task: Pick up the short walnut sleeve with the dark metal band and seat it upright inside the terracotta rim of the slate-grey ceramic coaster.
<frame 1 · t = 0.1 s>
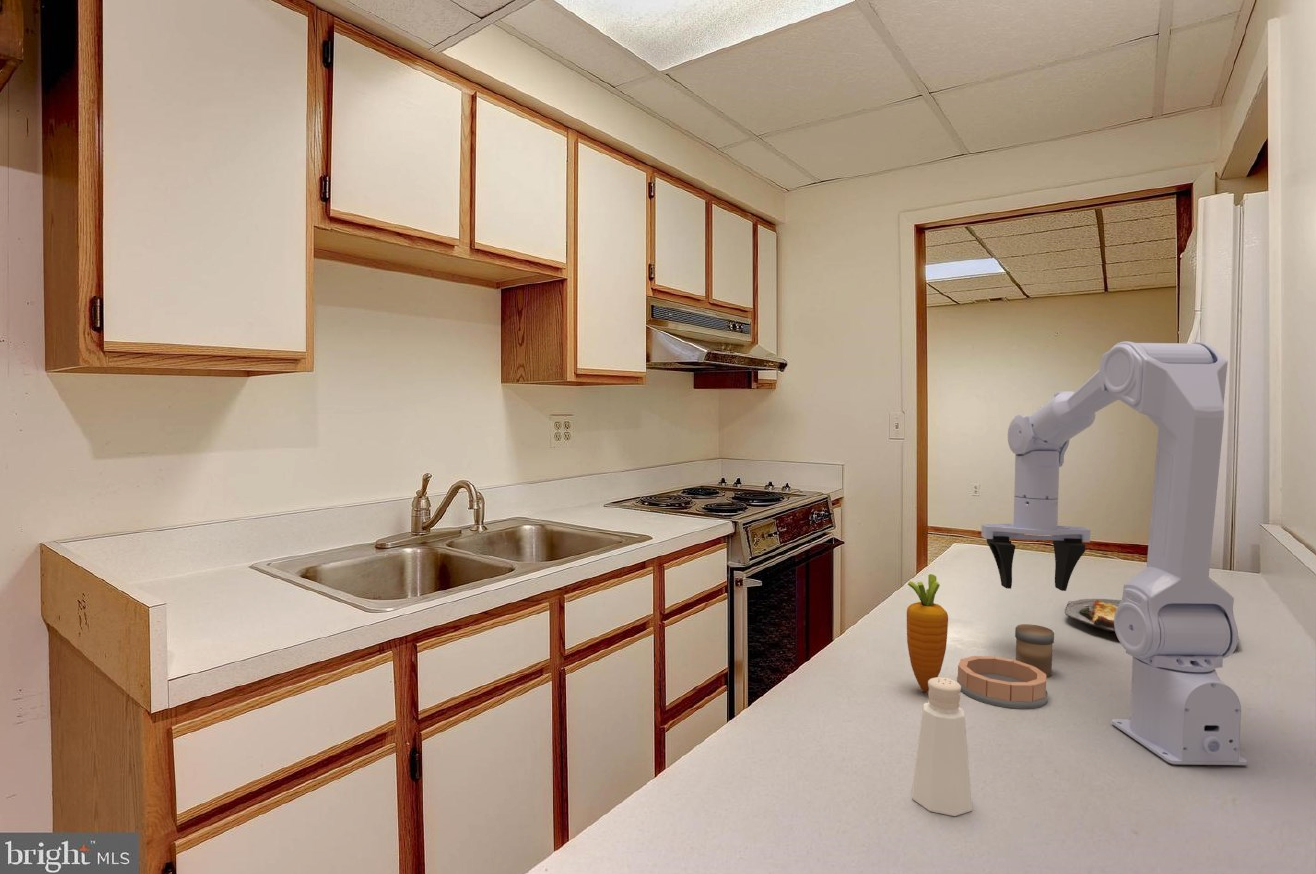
hand: (1033, 588, 102), 10 cm above the countertop, fingers open, 7 cm apart
salt shaker: (941, 801, 63), on the countertop
walnut sleeve: (1033, 671, 95), on the countertop
carrot: (925, 693, 87), on the countertop
coaster: (1000, 691, 88), on the countertop
food plate: (1146, 631, 115), on the countertop
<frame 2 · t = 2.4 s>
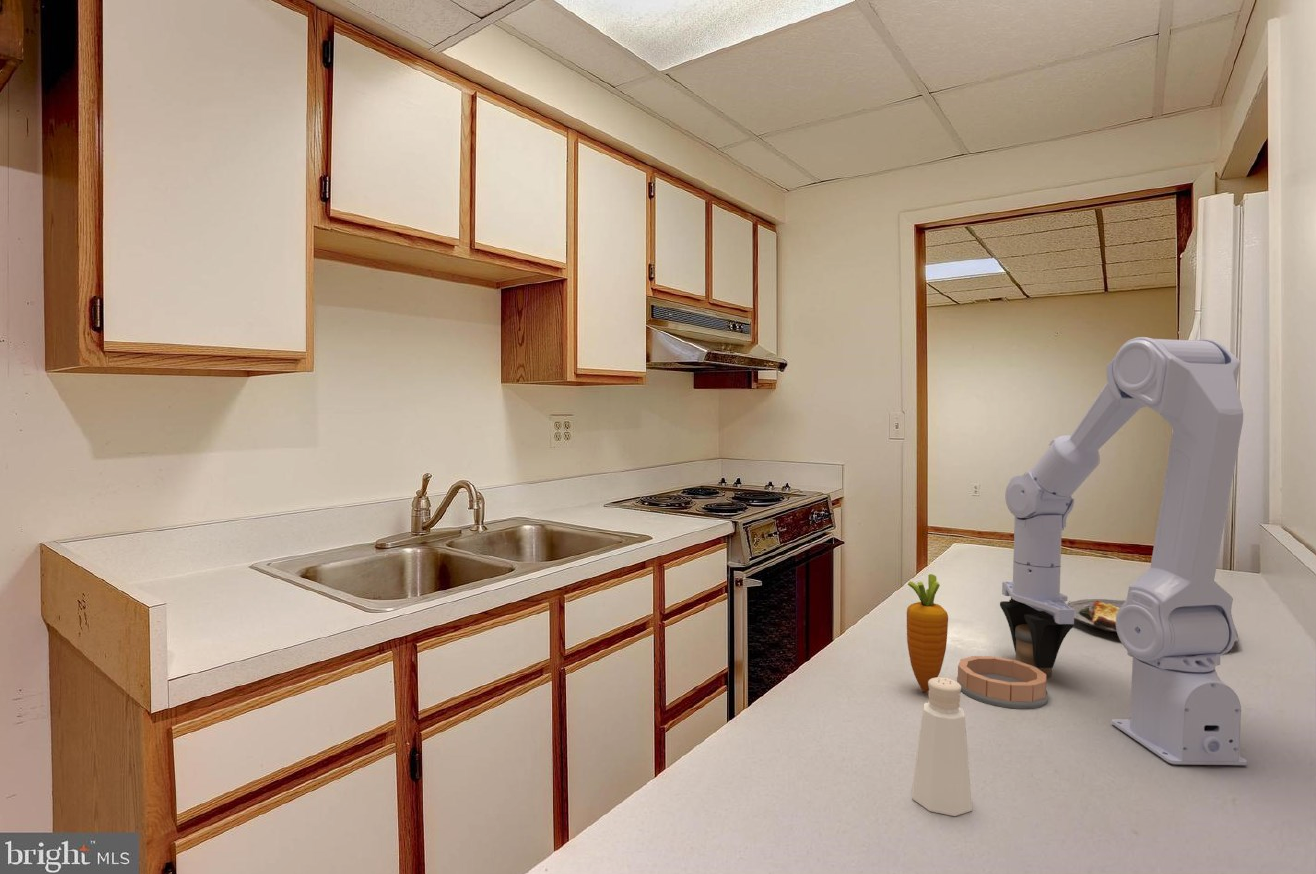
hand: (1033, 660, 95), 2 cm above the countertop, fingers closed on walnut sleeve, 5 cm apart
walnut sleeve: (1033, 671, 95), on the countertop, touching gripper
everything else where it was.
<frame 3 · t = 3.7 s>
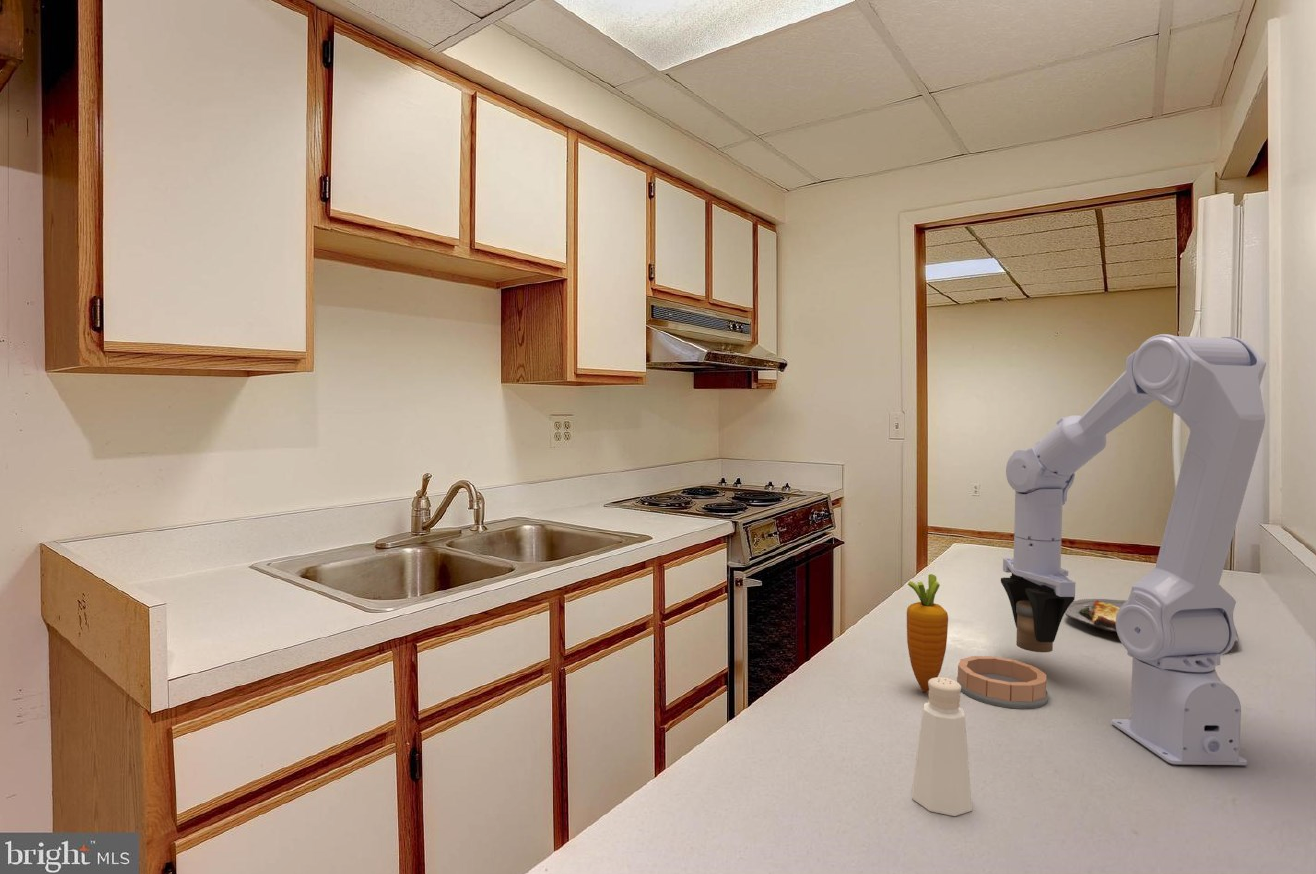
hand: (1034, 635, 95), 5 cm above the countertop, fingers closed on walnut sleeve, 5 cm apart
walnut sleeve: (1034, 647, 95), point 3 cm above the countertop, touching gripper
everything else where it was.
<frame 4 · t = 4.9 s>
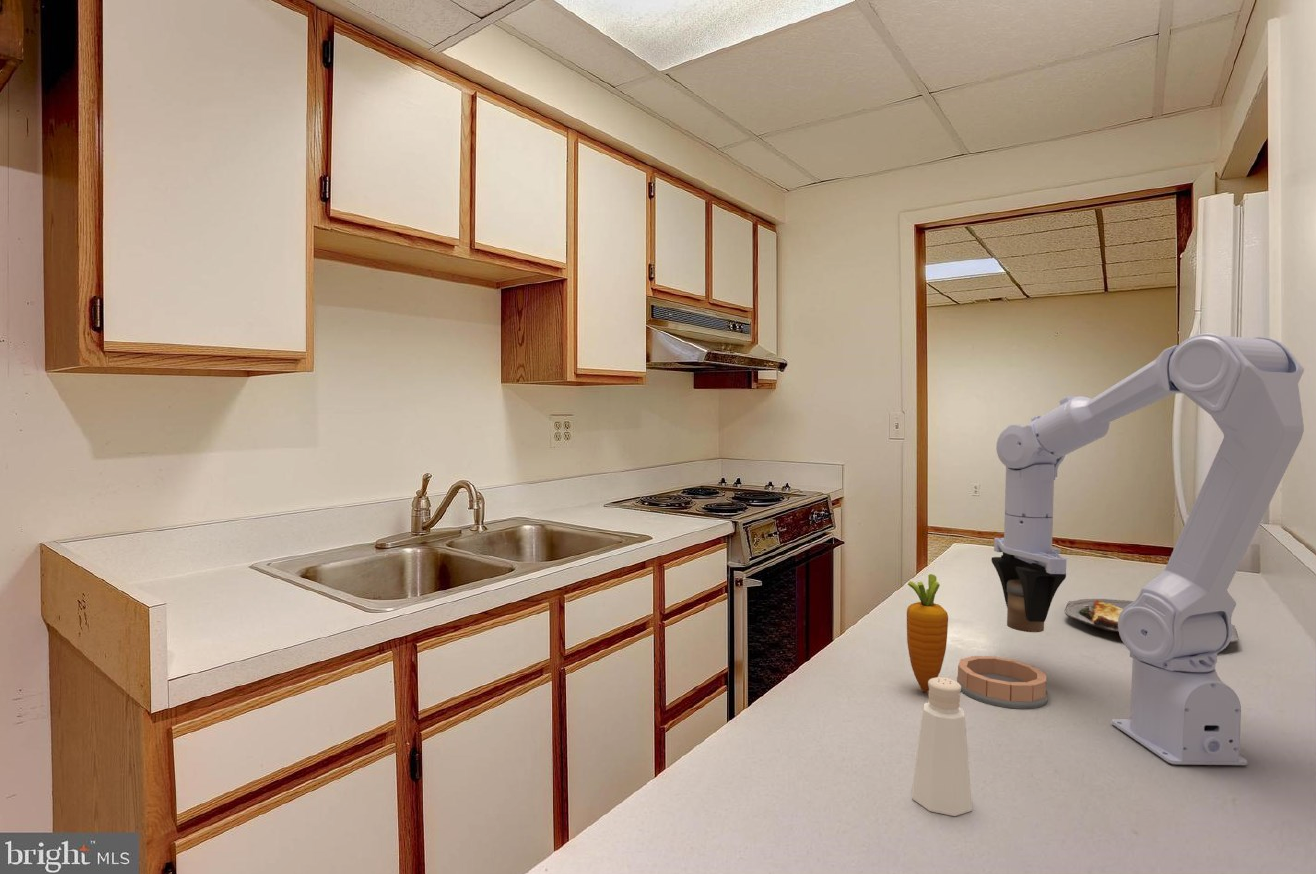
hand: (1025, 615, 92), 9 cm above the countertop, fingers closed on walnut sleeve, 5 cm apart
walnut sleeve: (1025, 627, 92), point 7 cm above the countertop, touching gripper
everything else where it was.
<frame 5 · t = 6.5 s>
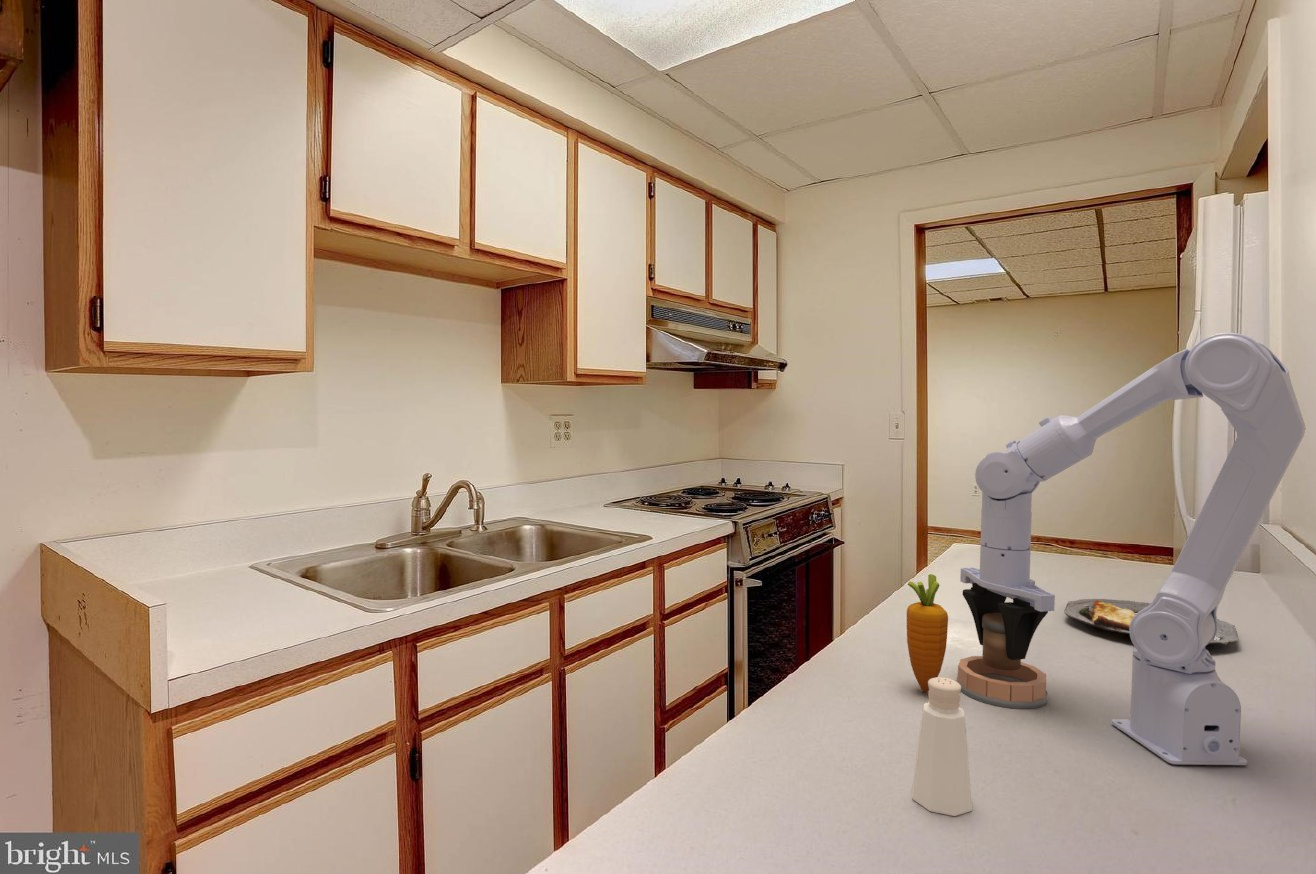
hand: (1001, 651, 88), 5 cm above the countertop, fingers closed on walnut sleeve, 5 cm apart
walnut sleeve: (1001, 664, 88), point 4 cm above the countertop, touching gripper
everything else where it was.
when the fingers open (3 cm above the countertop, at t = 7.8 s): walnut sleeve stays where it is, resting on coaster.
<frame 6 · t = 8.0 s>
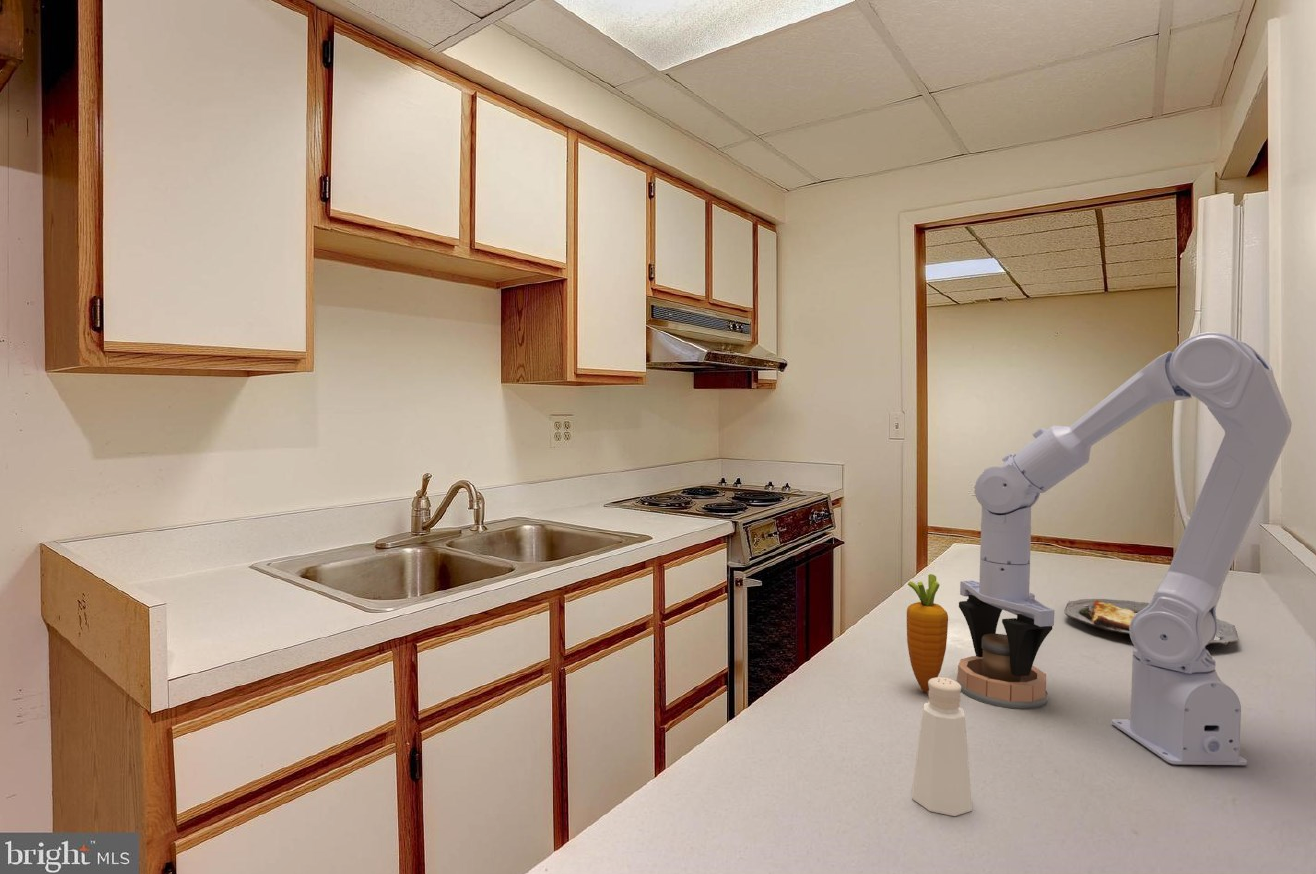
hand: (1001, 665, 88), 3 cm above the countertop, fingers open, 6 cm apart
walnut sleeve: (1000, 685, 88), point 1 cm above the countertop, touching coaster
everything else where it was.
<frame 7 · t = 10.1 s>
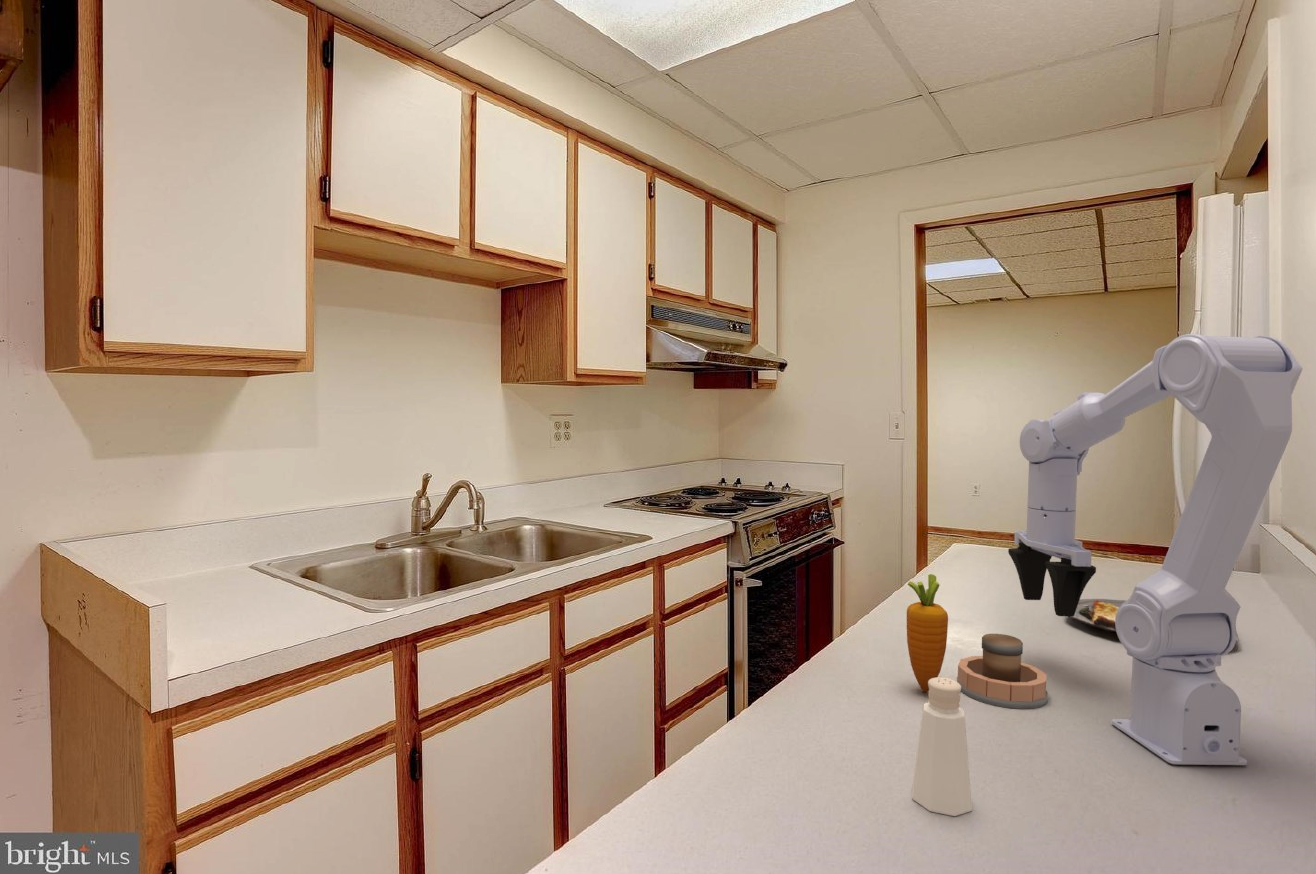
hand: (1047, 607, 94), 9 cm above the countertop, fingers open, 7 cm apart
nothing on the countertop moved.
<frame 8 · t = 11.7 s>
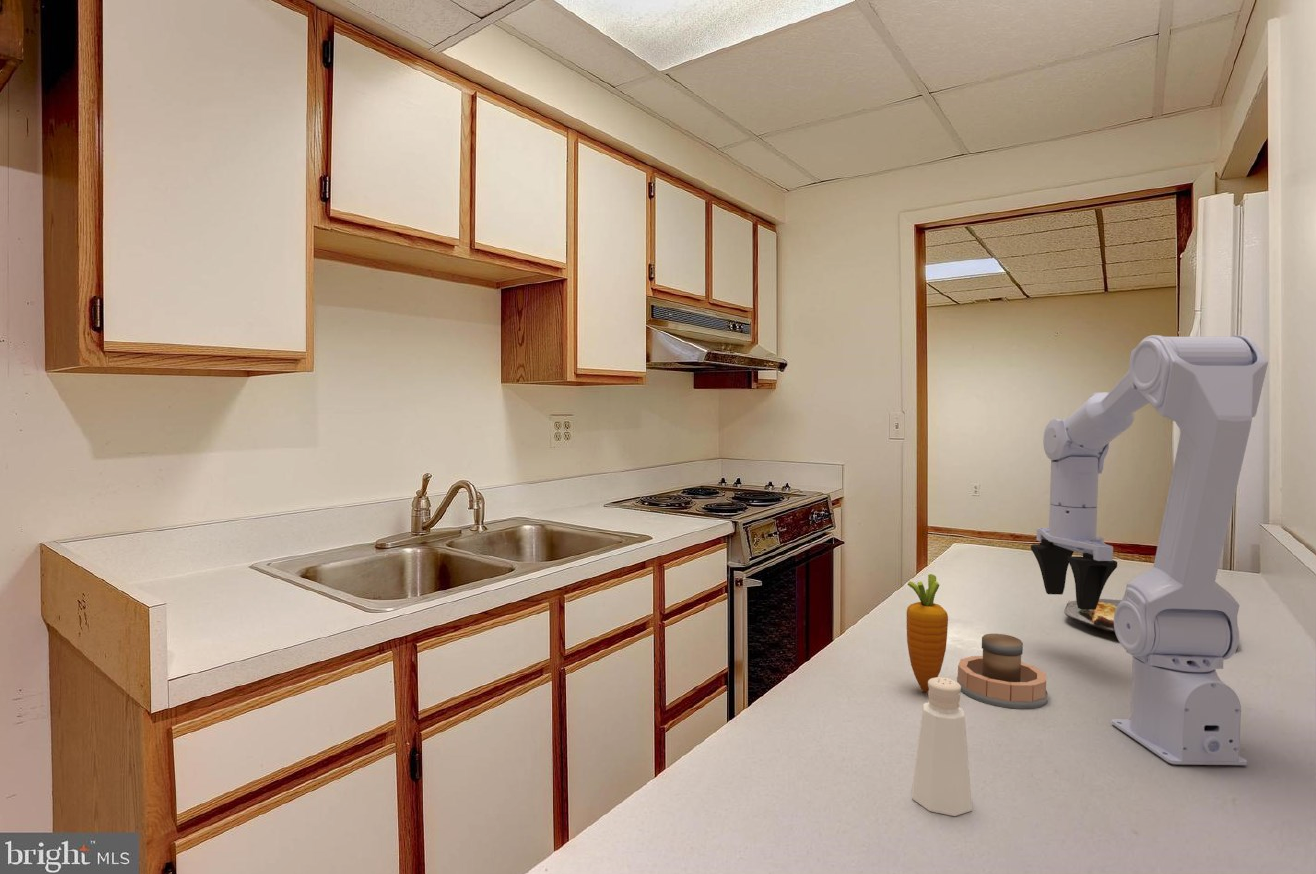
hand: (1070, 601, 96), 9 cm above the countertop, fingers open, 7 cm apart
nothing on the countertop moved.
at the end: walnut sleeve 0.0 cm off-centre on the coaster, point 0.8 cm above the coaster's base; walnut sleeve tilted 0°; the gripper is holding nothing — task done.
